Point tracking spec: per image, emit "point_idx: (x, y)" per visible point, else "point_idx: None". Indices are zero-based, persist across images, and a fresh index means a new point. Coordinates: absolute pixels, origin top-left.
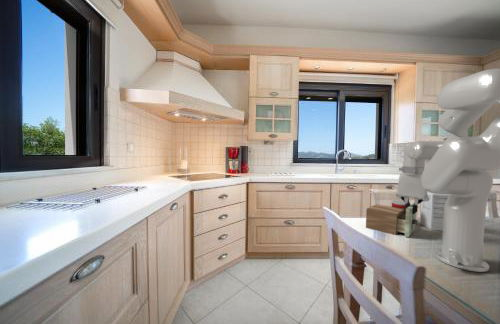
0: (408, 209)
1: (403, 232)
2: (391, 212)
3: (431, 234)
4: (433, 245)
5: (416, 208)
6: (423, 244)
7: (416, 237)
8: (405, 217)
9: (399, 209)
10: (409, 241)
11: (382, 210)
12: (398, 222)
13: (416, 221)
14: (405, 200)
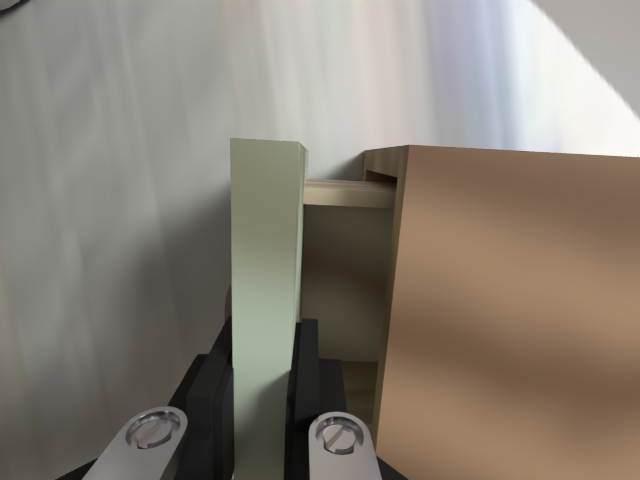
0: (256, 140)
1: (319, 179)
2: (479, 205)
3: (183, 354)
4: (129, 111)
5: (187, 382)
6: (181, 77)
7: None
8: (303, 147)
9: (410, 450)
10: (264, 68)
11: (591, 234)
12: (369, 187)
13: (229, 293)
14: (355, 468)
